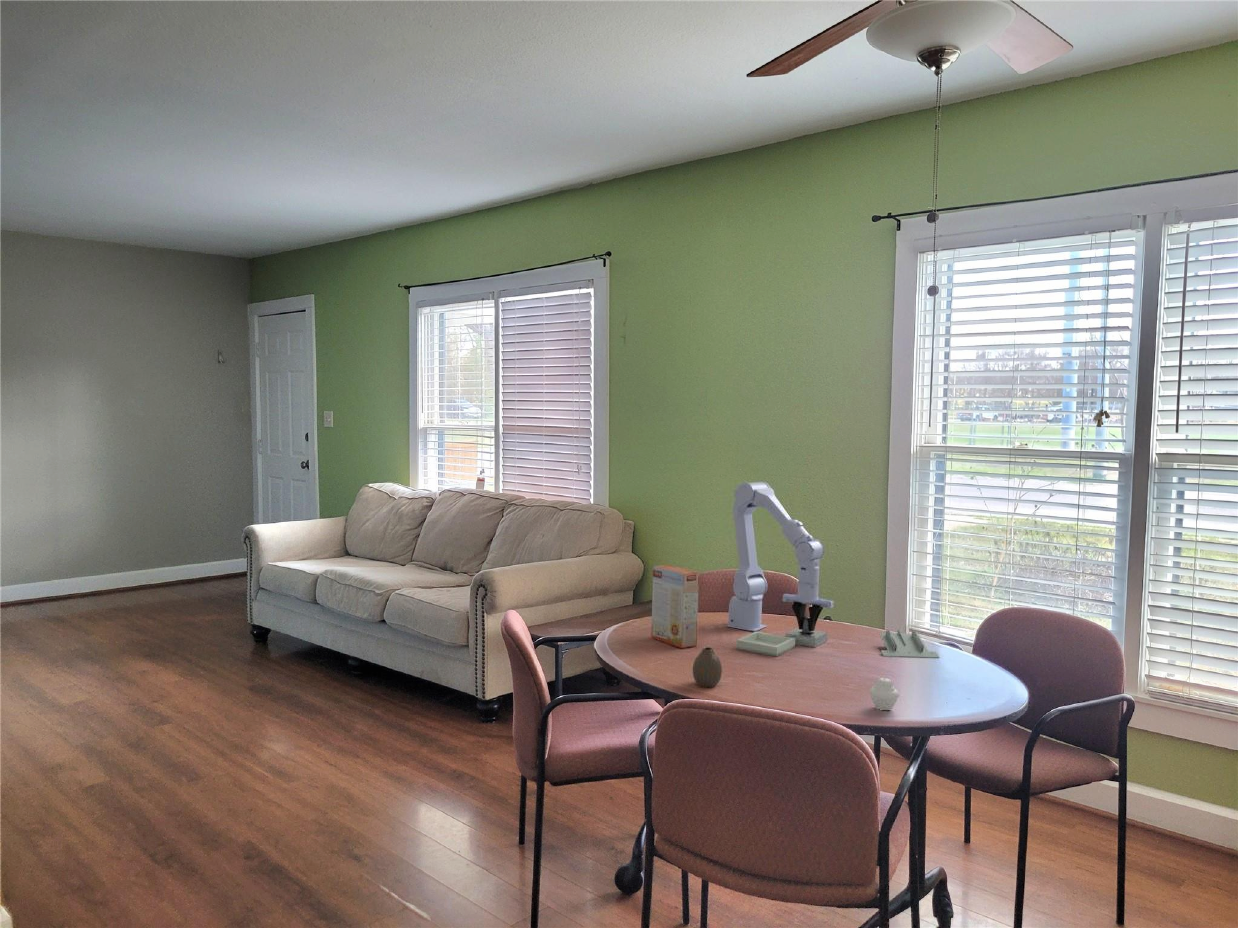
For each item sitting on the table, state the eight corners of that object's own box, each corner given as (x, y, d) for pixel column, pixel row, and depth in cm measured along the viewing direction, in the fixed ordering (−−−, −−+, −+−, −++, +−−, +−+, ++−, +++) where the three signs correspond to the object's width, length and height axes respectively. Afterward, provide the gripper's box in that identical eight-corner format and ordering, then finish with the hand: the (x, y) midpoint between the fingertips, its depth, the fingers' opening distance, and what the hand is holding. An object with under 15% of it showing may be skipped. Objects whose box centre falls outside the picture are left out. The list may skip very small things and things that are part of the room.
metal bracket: (872, 625, 246) (925, 626, 246) (869, 643, 248) (922, 644, 248) (885, 652, 233) (942, 654, 233) (883, 671, 235) (938, 673, 234)
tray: (736, 648, 239) (736, 639, 238) (755, 639, 248) (755, 631, 248) (776, 656, 232) (777, 647, 232) (794, 647, 242) (795, 638, 242)
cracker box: (698, 646, 240) (700, 571, 239) (680, 649, 237) (683, 573, 235) (667, 635, 252) (669, 563, 250) (650, 637, 248) (652, 565, 247)
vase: (713, 691, 202) (714, 654, 201) (687, 685, 205) (688, 649, 205) (726, 683, 207) (727, 647, 207) (700, 678, 211) (701, 643, 211)
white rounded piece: (867, 710, 191) (869, 679, 190) (870, 702, 196) (871, 672, 196) (897, 715, 189) (898, 683, 188) (899, 706, 194) (900, 675, 194)
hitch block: (785, 641, 247) (785, 633, 247) (797, 635, 254) (798, 627, 254) (815, 647, 242) (815, 638, 242) (827, 640, 249) (827, 632, 249)
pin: (800, 641, 248) (801, 617, 247) (803, 639, 250) (804, 615, 250) (808, 643, 246) (809, 618, 246) (812, 641, 249) (813, 617, 248)
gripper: (778, 581, 248) (777, 628, 249) (827, 588, 240) (825, 636, 241) (789, 577, 254) (787, 623, 255) (836, 584, 246) (835, 631, 246)
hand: (806, 629), depth 248 cm, fingers closed on pin, 3 cm apart
